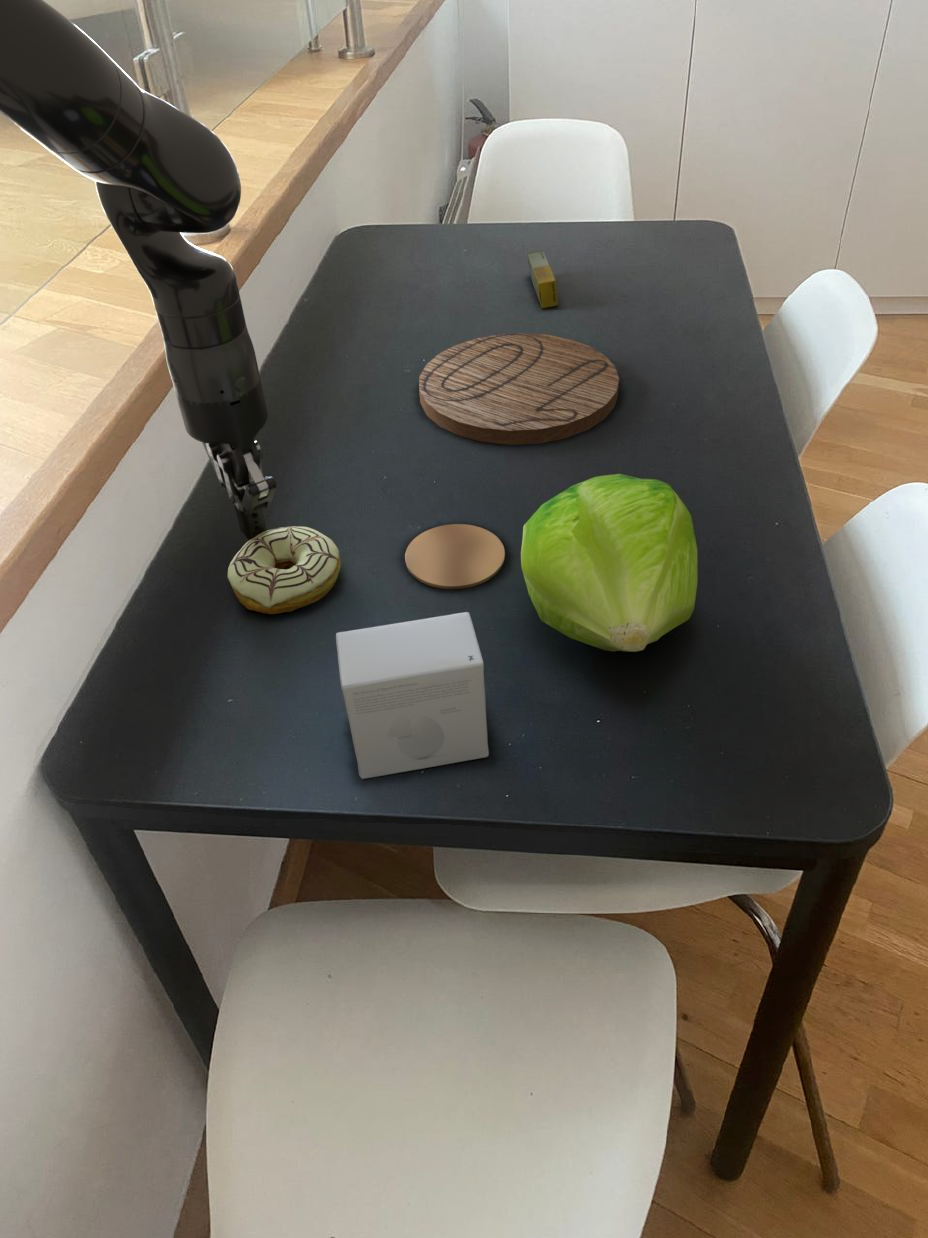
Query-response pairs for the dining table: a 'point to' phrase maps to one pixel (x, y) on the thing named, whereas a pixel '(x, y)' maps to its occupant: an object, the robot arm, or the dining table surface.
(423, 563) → the cork coaster
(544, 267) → the medication box
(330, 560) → the decorated donut
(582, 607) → the lettuce
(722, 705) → the dining table surface
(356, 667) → the cosmetics box
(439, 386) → the trivet
